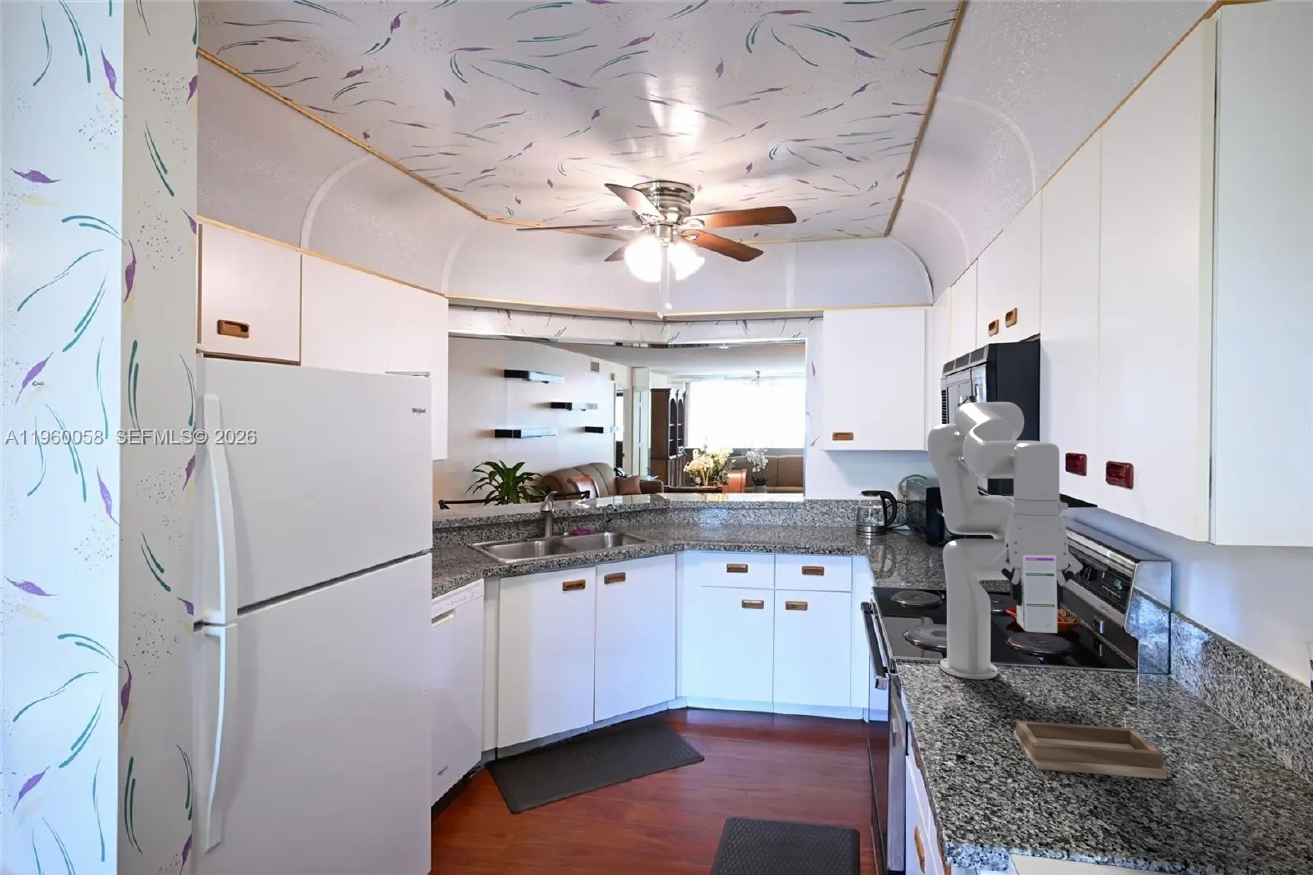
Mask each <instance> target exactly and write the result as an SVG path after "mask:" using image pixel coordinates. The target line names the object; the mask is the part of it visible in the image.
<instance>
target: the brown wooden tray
mask: <svg viewBox="0 0 1313 875" xmlns="http://www.w3.org/2000/svg"><path fill="white" fill-rule="evenodd" d="M1015 727H1016V728H1015V729H1014V730H1013V736H1014V739H1016V740H1017V742H1018V744H1019V745H1020V746H1021V748H1022V750H1023V751H1024V752H1025V754H1026V755H1027V756H1028V759H1030V761H1031V762H1032V764H1033V765H1034V766H1035V768H1036V770H1045V771H1054V772H1055V771H1057V772H1067V773H1068V772H1070V773H1081V774H1083V773H1084V774H1092V775H1093V774H1095V775H1096V774H1097V775H1106V776H1107V775H1108V776H1120V777H1121V776H1122V777H1134V778H1143V779H1144V778H1146V779H1161V780H1168V772H1166V771H1165V770H1164V769H1163V754H1162V753H1161V751H1160V750H1158V749H1157V748H1156V747H1155V746H1154V745H1153V744H1151V743H1150V742H1149V741H1148V740H1147V739H1146V738H1145V737H1144V736H1143V735H1142V734H1141V733H1139V731H1137V729H1135V728H1133V727H1132V728H1131V727H1121V726H1119V727H1117V726H1106V725H1105V726H1103V725H1101V726H1100V725H1090V724H1089V725H1087V724H1075V723H1074V724H1072V723H1059V722H1058V723H1057V722H1046V721H1045V722H1042V721H1030V720H1029V721H1028V720H1027V721H1026V720H1016V721H1015Z"/></svg>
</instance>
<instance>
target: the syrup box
mask: <svg viewBox="0 0 1313 875" xmlns="http://www.w3.org/2000/svg"><path fill="white" fill-rule="evenodd" d="M1019 581H1020V585H1021V586H1022V605H1021V606H1017V605H1016V604H1015V605H1016V609H1015V610H1016V623H1017V625H1019V627H1020V628H1021V629H1023V631H1025V632H1029V633H1042V634H1043V633H1047V634H1057V633H1058V607H1057V576H1056V555H1054V554H1044V553H1033V554H1023V555H1022V569H1021V578H1020V580H1019Z"/></svg>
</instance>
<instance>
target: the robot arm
mask: <svg viewBox="0 0 1313 875" xmlns="http://www.w3.org/2000/svg"><path fill="white" fill-rule="evenodd" d="M1024 427H1025V418H1024V414H1023V411H1022V409H1021V408H1020V407H1019V406H1018V405H1017V404H1015V403H1014V402H1010V401H983V402H982V401H980V402H979V401H977V402H976V401H974V402H969V403H965V404H963V405H962V406H960V407H959V408H958V409H957V410H956V411H955V413H954V416H953V423H944V424H940V425H937V426H934V427H933V428H932V429H931V430H929V432H928V436H927V453H928V457H929V459H930V460H929V461H930V463H931V465H932V468H933V471H934V472H935V474H936V476H937V480H938V483H939V489H940V496H941V497H940V498H941V504H942V505H941V506H942V511H943V519H944V524H945V526H946V528H947V530H948V531H949V532H951V533H952V534H956V535H970V536H971V535H972V536H973V535H975V536H976V535H977V536H978V535H980V536H982V535H983V536H984V535H986V536H987V535H988V536H989V535H990V536H992V537H993V538H959V539H954V540H951V541H949V542H947V543H946V544H945V545H944V547H943V551H942V562H943V567H944V573H945V574H944V575H945V580H946V581H945V582H946V657H945V658H943V659H941V660H940V661H939V667H940V669H941V670H942V671H943V672H945V673H947V674H949V675H951V676H954V677H958V678H963V679H968V680H990V679H993V678H995V677H997V676H998V671H999V670H998V667H997V666H995V665H994V664H993V663H991V618H992V617H991V615H992V614H991V598H990V595H989V594H988V592H987V591H986V590H985V588H984V587H983V586H982V585H981V584H980V581H986V580H987V581H988V580H990V581H991V580H992V581H993V580H995V581H997V580H998V581H999V580H1000V581H1005V580H1006V581H1007V580H1008V581H1009V583H1010V584H1009V585H1010V587H1009V589H1010V590H1009V591H1010V592H1009V593H1010V599H1011V601H1012V602H1013V603H1014V604H1015V605H1017V606H1021V605H1022V586H1021V585H1020V581H1019V580H1020V578H1021V569H1022V555H1023V554H1033V553H1044V554H1054V555H1056V576H1057V608H1061V603H1063V602H1064V586H1066V585H1067V582H1069V581H1070V580H1071V579H1072V578H1073V577H1074V576H1075V575H1077V573H1079V572H1080V571H1082V570H1083V568H1084V566H1083V564H1082V563H1081V562H1080V561H1079V560H1078V559H1077V558H1076V557H1075V556H1074V555H1073V554H1071V552H1070V551H1069V542H1068V535H1067V534H1068V533H1067V529H1066V522H1065V519H1064V516H1062V515H1061V512H1062V511H1068V509H1069V505H1068V504H1069V503H1067V502H1063V501H1061V499H1060V448H1059V447H1058V446H1057V445H1056V444H1055V443H1051V442H1042V441H1039V440H1018V439H1019V437H1020V435H1021V434H1022V432H1023V430H1024ZM960 458H963V459H964V462H965V463H964V462H962V460H960ZM976 476H978V477H979V478H983V479H989V480H990V479H993V480H995V479H1013V504H1012V503H1011V501H1010V500H1009V499H1008V498H1006V497H1004V496H1001V495H982V494H980V493H979V490H978V484H977V479H976Z"/></svg>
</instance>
